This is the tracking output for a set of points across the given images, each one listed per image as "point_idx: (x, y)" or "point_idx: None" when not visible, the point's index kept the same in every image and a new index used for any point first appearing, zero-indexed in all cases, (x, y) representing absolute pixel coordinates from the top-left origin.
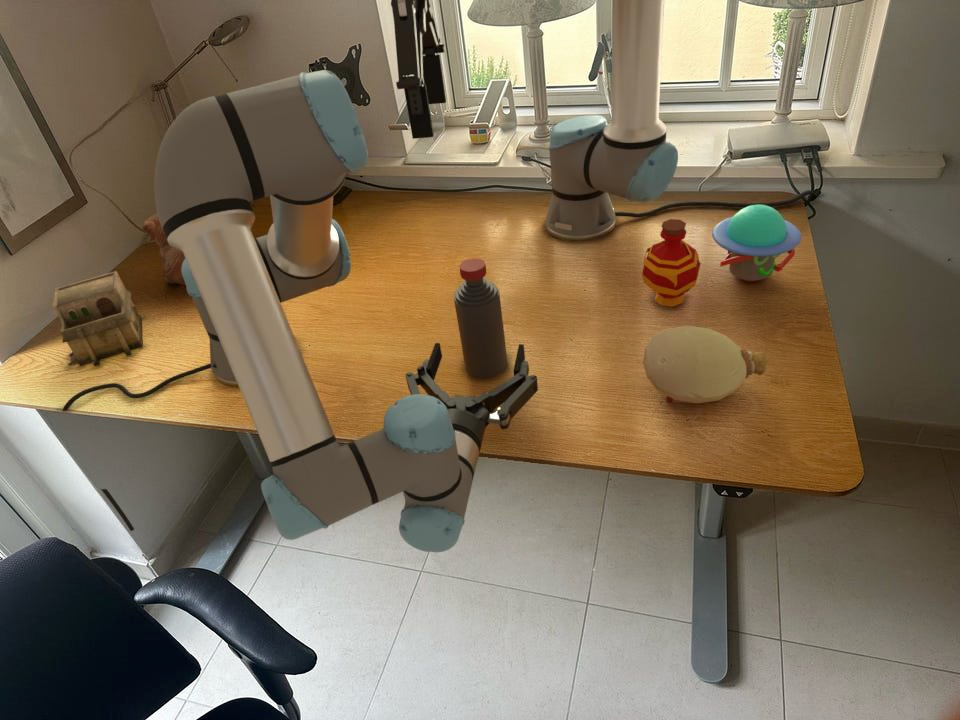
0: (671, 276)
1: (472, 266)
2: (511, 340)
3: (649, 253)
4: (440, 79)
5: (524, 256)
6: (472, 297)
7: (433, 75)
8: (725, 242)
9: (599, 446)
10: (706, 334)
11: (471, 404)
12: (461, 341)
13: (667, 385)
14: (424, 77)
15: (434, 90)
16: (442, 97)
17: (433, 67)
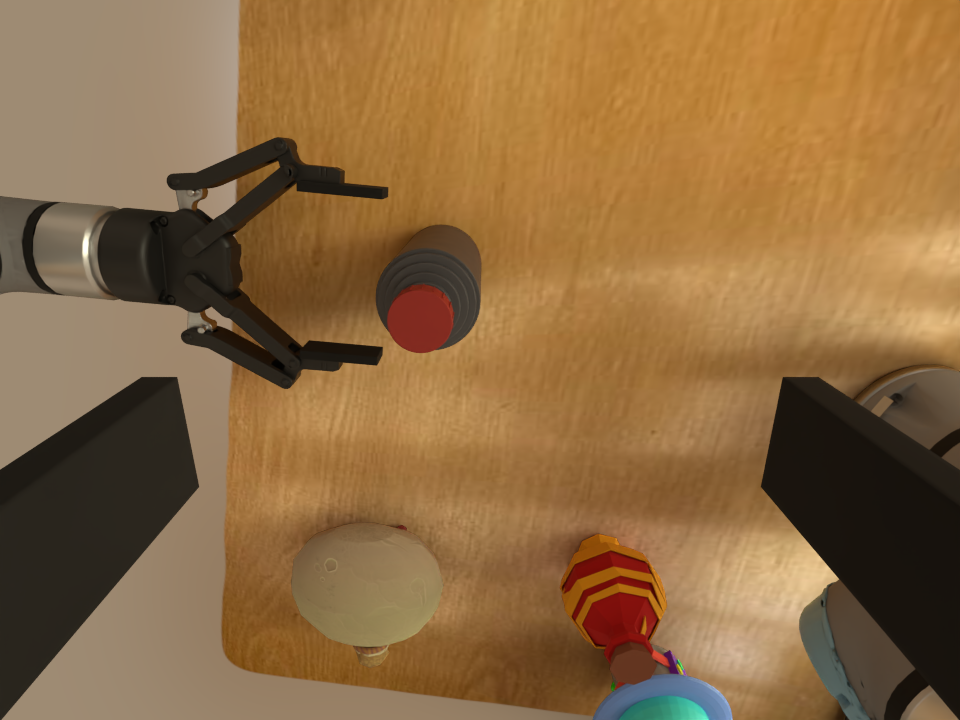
0: (567, 599)
1: (411, 323)
2: (511, 306)
3: (619, 589)
4: (858, 580)
5: (814, 320)
6: (387, 301)
7: (895, 562)
8: (639, 690)
9: (256, 436)
10: (386, 626)
11: (191, 286)
12: (417, 237)
13: (302, 555)
14: (912, 481)
15: (821, 479)
16: (781, 493)
17: (946, 626)
